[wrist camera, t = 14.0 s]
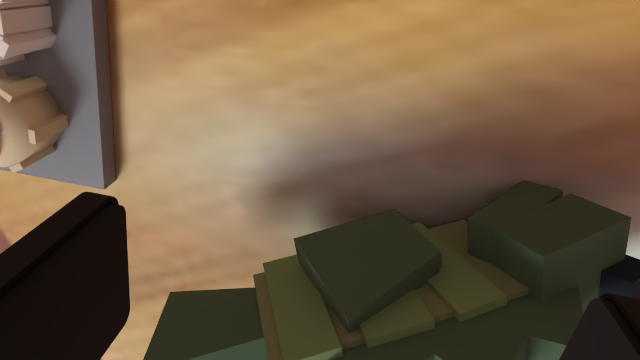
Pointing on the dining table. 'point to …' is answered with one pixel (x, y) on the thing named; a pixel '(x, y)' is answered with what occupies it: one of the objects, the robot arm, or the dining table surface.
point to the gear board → (62, 102)
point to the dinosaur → (417, 288)
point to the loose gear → (24, 28)
